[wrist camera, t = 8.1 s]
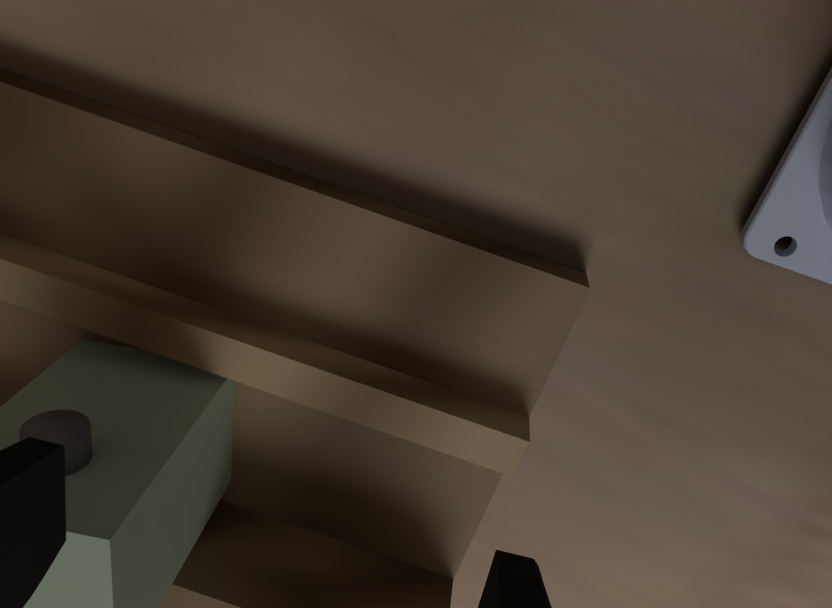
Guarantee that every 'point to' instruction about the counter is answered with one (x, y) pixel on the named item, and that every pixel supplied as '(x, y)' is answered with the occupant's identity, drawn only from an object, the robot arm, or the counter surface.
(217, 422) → the cabinet block
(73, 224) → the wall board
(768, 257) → the robot arm
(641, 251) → the counter surface
